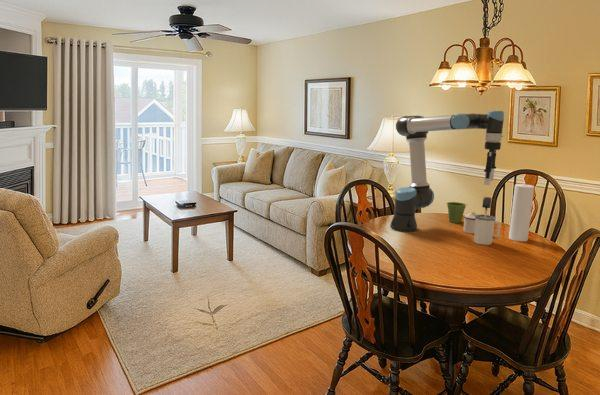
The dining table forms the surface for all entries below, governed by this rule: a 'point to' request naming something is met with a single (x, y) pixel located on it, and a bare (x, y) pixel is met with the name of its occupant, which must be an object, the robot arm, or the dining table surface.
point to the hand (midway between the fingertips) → (488, 182)
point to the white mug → (485, 229)
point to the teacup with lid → (469, 223)
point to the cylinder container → (521, 212)
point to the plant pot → (455, 211)
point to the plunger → (486, 204)
